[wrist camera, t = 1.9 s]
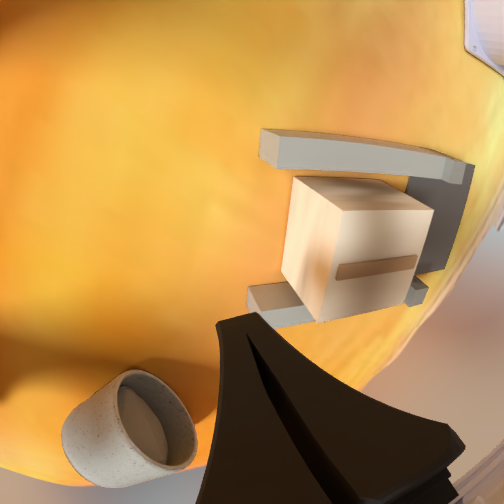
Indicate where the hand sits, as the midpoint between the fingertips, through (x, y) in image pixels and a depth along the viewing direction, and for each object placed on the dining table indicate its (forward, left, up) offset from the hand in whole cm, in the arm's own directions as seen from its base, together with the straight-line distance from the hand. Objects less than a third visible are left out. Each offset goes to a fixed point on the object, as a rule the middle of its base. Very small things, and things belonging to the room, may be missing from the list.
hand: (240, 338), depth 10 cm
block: (-8, 0, -8) cm, 11 cm away
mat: (-18, 0, -8) cm, 20 cm away
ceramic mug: (+5, +14, -9) cm, 18 cm away
